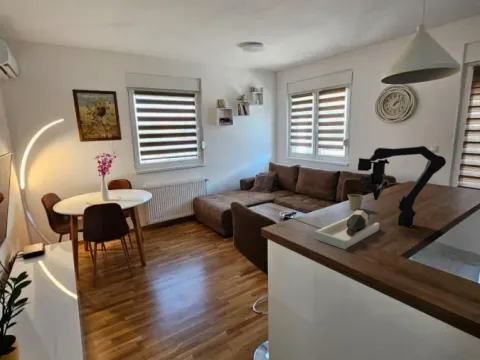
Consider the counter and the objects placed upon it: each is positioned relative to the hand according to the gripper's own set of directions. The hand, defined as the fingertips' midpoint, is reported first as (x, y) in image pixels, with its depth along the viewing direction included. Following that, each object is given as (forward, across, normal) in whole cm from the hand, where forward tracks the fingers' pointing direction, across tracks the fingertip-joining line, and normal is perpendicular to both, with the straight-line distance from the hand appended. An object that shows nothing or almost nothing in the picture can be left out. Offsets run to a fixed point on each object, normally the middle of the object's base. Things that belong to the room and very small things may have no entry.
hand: (375, 200), depth 145 cm
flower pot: (+12, -15, -18) cm, 26 cm away
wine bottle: (+7, +10, -3) cm, 13 cm away
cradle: (+12, +29, -1) cm, 31 cm away
